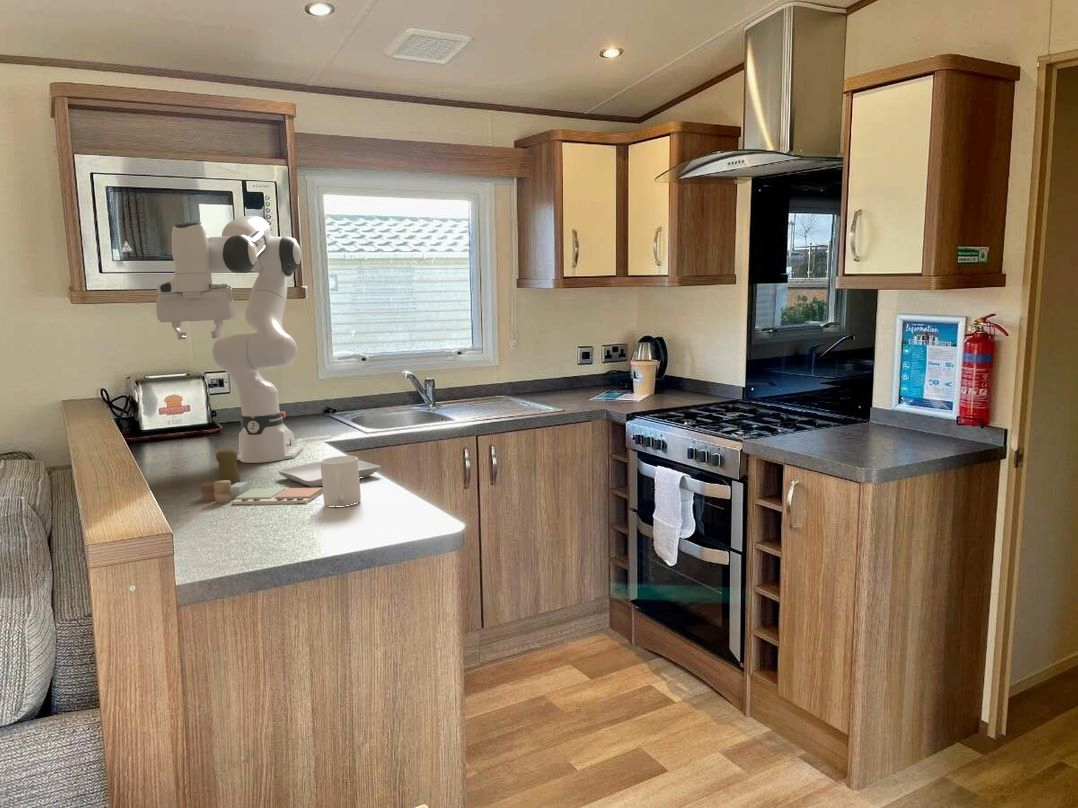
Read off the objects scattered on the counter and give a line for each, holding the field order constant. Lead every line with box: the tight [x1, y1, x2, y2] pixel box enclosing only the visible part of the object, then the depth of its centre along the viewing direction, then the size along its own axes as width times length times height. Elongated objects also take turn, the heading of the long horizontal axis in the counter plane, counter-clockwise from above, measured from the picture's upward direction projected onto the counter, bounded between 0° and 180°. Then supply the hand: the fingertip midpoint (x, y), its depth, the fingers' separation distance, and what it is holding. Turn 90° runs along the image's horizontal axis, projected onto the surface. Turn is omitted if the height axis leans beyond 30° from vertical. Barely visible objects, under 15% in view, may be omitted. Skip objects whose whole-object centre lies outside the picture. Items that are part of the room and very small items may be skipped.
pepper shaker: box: [215, 448, 241, 485], centre depth 208 cm, size 6×6×11 cm
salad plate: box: [277, 459, 381, 488], centre depth 218 cm, size 21×21×3 cm
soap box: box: [231, 481, 250, 499], centre depth 203 cm, size 5×3×3 cm, turn 174°
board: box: [230, 487, 323, 505], centre depth 198 cm, size 11×19×1 cm, turn 84°
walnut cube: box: [200, 480, 218, 502], centre depth 202 cm, size 4×4×4 cm
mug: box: [319, 455, 362, 507], centre depth 188 cm, size 9×12×11 cm
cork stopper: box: [213, 480, 234, 505], centre depth 197 cm, size 4×4×5 cm
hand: (199, 338), depth 209 cm, fingers open, 8 cm apart
